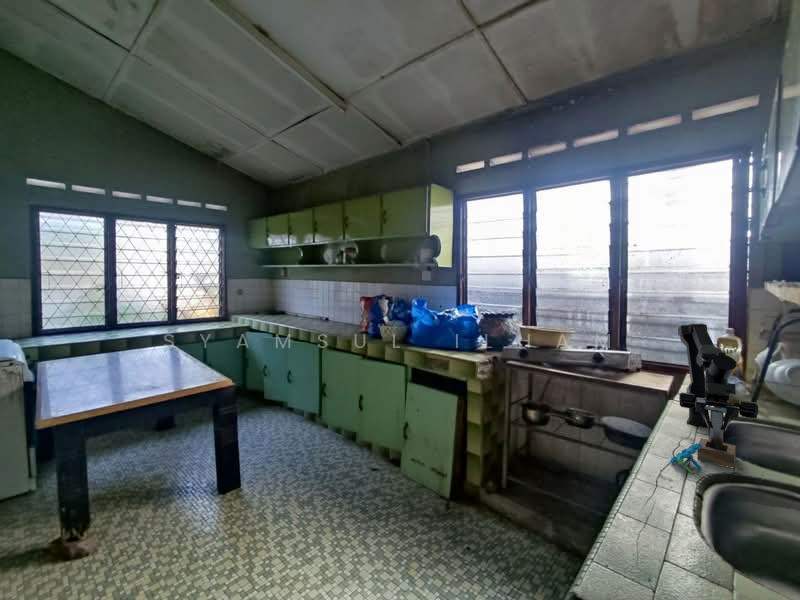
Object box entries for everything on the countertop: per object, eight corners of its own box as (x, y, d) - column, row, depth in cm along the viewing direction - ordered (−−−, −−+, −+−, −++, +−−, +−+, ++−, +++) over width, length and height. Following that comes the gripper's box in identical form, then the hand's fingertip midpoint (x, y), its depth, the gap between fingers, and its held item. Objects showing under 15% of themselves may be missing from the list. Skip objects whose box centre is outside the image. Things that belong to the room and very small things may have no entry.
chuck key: (704, 444, 116) (705, 403, 115) (726, 448, 112) (726, 407, 111) (703, 447, 114) (704, 406, 113) (725, 452, 110) (726, 410, 109)
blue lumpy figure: (677, 449, 116) (703, 437, 109) (693, 467, 113) (721, 455, 106) (661, 464, 110) (687, 452, 103) (678, 483, 107) (706, 471, 100)
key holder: (700, 449, 119) (700, 437, 118) (735, 458, 113) (735, 445, 112) (697, 459, 113) (697, 446, 112) (733, 468, 107) (734, 455, 106)
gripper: (679, 368, 120) (677, 410, 113) (758, 376, 108) (761, 424, 100) (680, 385, 127) (679, 426, 119) (755, 395, 115) (758, 441, 107)
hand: (716, 429), depth 111 cm, fingers closed on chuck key, 3 cm apart
